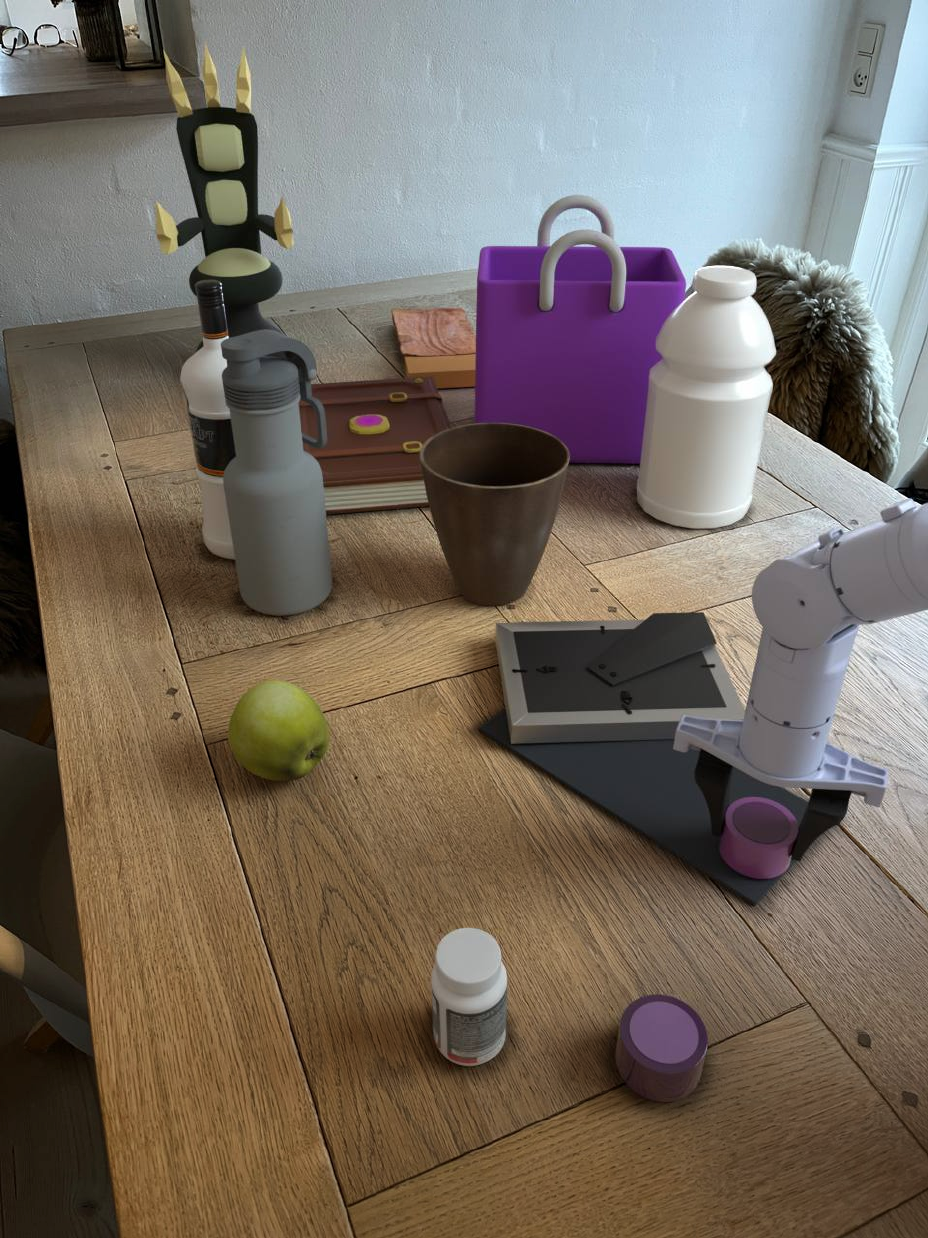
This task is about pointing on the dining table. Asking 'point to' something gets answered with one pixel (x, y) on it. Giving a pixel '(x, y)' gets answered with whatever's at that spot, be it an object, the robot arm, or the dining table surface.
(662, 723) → the picture frame
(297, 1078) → the dining table surface
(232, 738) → the apple
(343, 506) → the book
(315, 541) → the water bottle
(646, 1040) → the aubergine dish
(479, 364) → the shopping bag
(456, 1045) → the pill bottle
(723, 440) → the bottle
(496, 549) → the plant pot
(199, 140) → the throne chair
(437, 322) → the wooden flat board
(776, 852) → the plum dish
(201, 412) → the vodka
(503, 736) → the placemat
